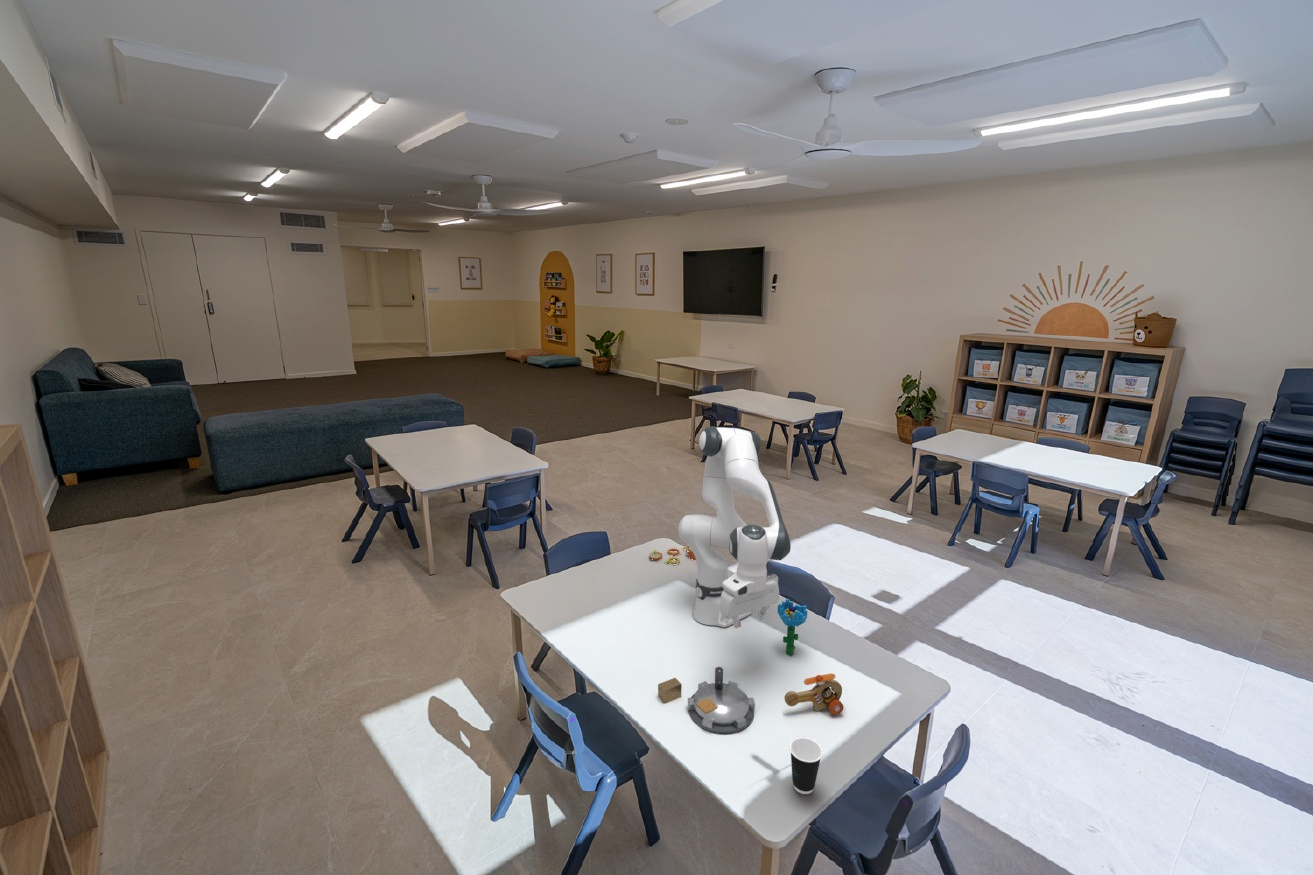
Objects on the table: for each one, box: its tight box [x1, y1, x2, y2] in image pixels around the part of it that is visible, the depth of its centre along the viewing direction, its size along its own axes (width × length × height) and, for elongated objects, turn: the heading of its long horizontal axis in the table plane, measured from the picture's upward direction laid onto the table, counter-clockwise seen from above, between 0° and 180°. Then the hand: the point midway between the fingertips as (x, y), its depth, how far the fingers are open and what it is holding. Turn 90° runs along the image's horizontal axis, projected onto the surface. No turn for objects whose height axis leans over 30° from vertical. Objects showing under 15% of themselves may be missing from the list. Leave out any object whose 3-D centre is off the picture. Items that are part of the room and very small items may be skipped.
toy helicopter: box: [784, 672, 844, 716], centre depth 167 cm, size 7×18×12 cm, turn 103°
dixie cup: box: [789, 737, 824, 795], centre depth 140 cm, size 8×8×11 cm
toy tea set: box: [649, 544, 696, 565], centre depth 262 cm, size 26×16×10 cm, turn 120°
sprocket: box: [687, 666, 756, 729], centre depth 166 cm, size 18×19×8 cm
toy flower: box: [777, 598, 809, 657], centre depth 193 cm, size 9×9×18 cm
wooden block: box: [657, 677, 683, 705], centre depth 172 cm, size 6×4×5 cm, turn 121°
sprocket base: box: [687, 693, 755, 735], centre depth 168 cm, size 19×19×1 cm
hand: (749, 622), depth 174 cm, fingers open, 8 cm apart
